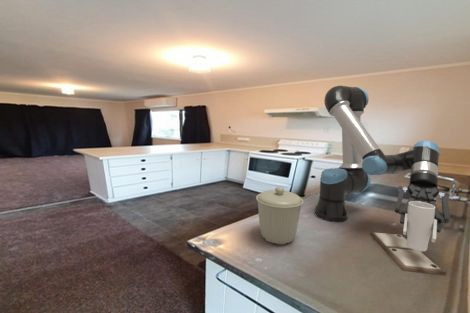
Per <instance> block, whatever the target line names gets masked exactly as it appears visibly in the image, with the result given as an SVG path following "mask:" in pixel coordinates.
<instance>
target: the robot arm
mask: <svg viewBox="0 0 470 313" xmlns="http://www.w3.org/2000/svg"><path fill="white" fill-rule="evenodd" d="M368 104H369V95H368V92H367V91H366V90H365V89H364V88H360V87H357V86H347V85H335V86H333V87H331V88H330V89H329V90H328V91H327V92H326V93H325V96H324V106H325V109H326V111H327V113H328V114H329V116H332V117H334V119H335V120H336V121H337V123H338V124H339V126H340V128H341V144H342V147H341V149H342V150H341V152H342V164H341V165H339V168H338V167H337V168H336V167H332V168H326V169H323V171H322V172H321V174H320V177H319V178H320V179H319V182H320V184H319V199H318V201H317V203H316V205H315V208H314V215H315V214H316V215H317V216H318V218H319V217H320V218H319V219H321V218H322V219H321V220H325V221H327V220H328V221H327V222H333V221H335V223H340V222H341V221H342V222H345V221H347V220H348V216H349V214H348V211H347V207H346V202H345V201H346V195H348V194H354V193H355V194H357V193H361V192H364V191H366V190H367V189H368V188H369V187H370V185H371V176H382V175H385V174H387V175H392V174H393V175H394V174H398V173H402V172H408V171H410V176H409V177H410V178H409V183H408V186H404V187H403V186H401V185H399V186H398V189H397V190H398V195H397V199H396V203H395V207H394V212H395V214H399V215H400V219H399V223H400V224H401V225H403V229H402V230H403V232H402V235H403V236H407V221H408V217H407V209H408V203H409V202H410V201H422V202H426V203H429V204H431V205H434V206H435V218H434V222H433V226H432V230H431V243H434V244H435V243H436V240H437V233H441V232H442V224H449V222H450V220H451V216H450V215H451V214H450V206H449V199H450V195H451V194H450V192H445V193H444V192H440V191H439V189H438V183H439V182H438V181H439V180H438V178H439V158H440V147H439V144H437V143H436V142H434V141H432V140H420V141H417V142H416V143H415V144H414V145H413V147H412V149H410V150H407V151H405V152H401V153H396V154H388V155H387V154H385V153H384V151H382V150H381V148H380V146H379V145H378V144H377V142H376V141H375V140H374V138H373V137H372V136H371V134H370V133H369V131H368V130H367V129H366V127H365V126H364V125H363V123H362V122H361V116H362V115H363V114H364V113H365V111H364V109H366V107H367V105H368ZM407 192H408V193H409V195H410V197H409V199H408V200H407V202H406V203H405V205H404V206H403V207H402V208H401V206H402V202H403V198H404V194H406V193H407ZM436 197H439V199H440V200H441V212H442V216H441V213H440V211H439V209H438V206H437V204H436V202H435V198H436ZM316 215H315V216H316ZM317 216H316V217H317Z"/></svg>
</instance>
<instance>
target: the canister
mask: <svg viewBox="0 0 470 313" xmlns="http://www.w3.org/2000/svg"><path fill="white" fill-rule="evenodd" d="M255 199H256V201H257V208H258V209H257V210H258V221H259V230H260V234H261V236H262V238H263V239H264V238H265V239H266V240H265V239H264V240H265V241H267V242H269V243H271V242H272V243H271V244H274V243H276V244H275V245H286V243H288V244H290V243H291V242H293V241H294V239H295V238H296V235H297V230H298V225H299V220H300V214H301V208H302V205H303V204H304V199H303V198H302V197H301V196H300V195H299V194H296V193H294V192H291V191H288V190H285V188H284V187H282V186H276V187H275V189H269V190H266V191H262V192H260V193H258V194H256V197H255ZM289 242H290V243H289Z"/></svg>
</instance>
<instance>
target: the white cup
mask: <svg viewBox="0 0 470 313" xmlns="http://www.w3.org/2000/svg"><path fill="white" fill-rule="evenodd" d="M407 217H408V221H407V230H406V238H407V243H406V244H407V246H408V247H409V248H411V249H413V250H416V251H421V252H423V253H424V252H426V251H427V250H428V247H429V241H430V237H431V235H432V226H433V222H434V218H435V206H434V205H431V204H429V203H427V202H426V201H420V200H415V201H410V202H409V203H408V209H407Z"/></svg>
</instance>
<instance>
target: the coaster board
mask: <svg viewBox="0 0 470 313" xmlns="http://www.w3.org/2000/svg"><path fill="white" fill-rule="evenodd" d="M369 235H370V236H371V237H372V238H373V239H374V240H375V242H377V244H378V245H379V246H380V247H381V248H382V249H383V250H384V251H385V252H386V253H387V255H388V256H389V257H390V258H391V259H392V260H393V261H394V262H395V264H396V265H397V266H398V267H399V269H401V270H402V271H405V272H415V273H425V274H432V273H435V275H441V274H446V275H447V271H446V270H445V269H444V268H442V266H440V265H439V264H438V263H436V262H435V261H434V260H433V259H431V258H430V256H428V255H427V254H426V253H424V252H421V251H416V250H413V249H411V248H409V247H408V246H407V244H406V243H407V237H405V235H403V234H397V233H395V234H394V233H385V232H375V231H374V232H372V231H370V232H369Z"/></svg>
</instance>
